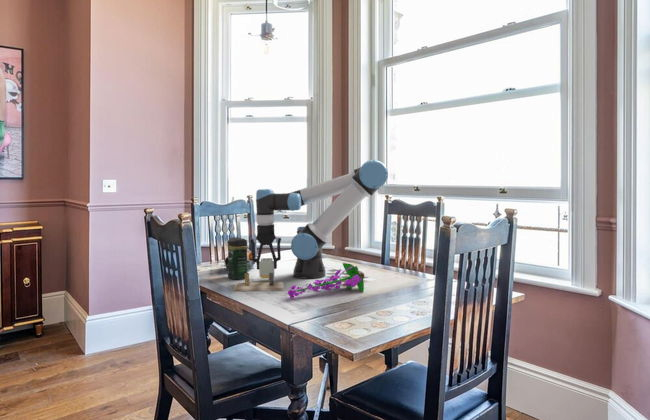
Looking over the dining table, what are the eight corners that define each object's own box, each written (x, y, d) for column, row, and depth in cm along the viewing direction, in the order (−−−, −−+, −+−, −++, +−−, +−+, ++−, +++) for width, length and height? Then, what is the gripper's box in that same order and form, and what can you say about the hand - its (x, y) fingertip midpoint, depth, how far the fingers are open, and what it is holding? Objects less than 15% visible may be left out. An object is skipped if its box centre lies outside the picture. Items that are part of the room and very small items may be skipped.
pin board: (283, 284, 182) (283, 270, 182) (283, 290, 172) (283, 275, 172) (236, 285, 180) (236, 271, 180) (233, 291, 170) (233, 276, 170)
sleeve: (272, 275, 191) (272, 258, 190) (272, 278, 186) (272, 260, 185) (261, 276, 190) (261, 258, 190) (261, 278, 185) (260, 260, 185)
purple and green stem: (369, 298, 175) (297, 320, 156) (347, 273, 186) (277, 290, 167) (378, 276, 169) (304, 296, 149) (355, 251, 180) (283, 266, 160)
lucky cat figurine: (253, 266, 220) (261, 244, 214) (251, 280, 209) (260, 257, 204) (225, 259, 216) (232, 236, 211) (221, 272, 206) (229, 249, 200)
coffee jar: (250, 278, 192) (250, 238, 191) (234, 280, 188) (233, 239, 187) (241, 274, 200) (241, 235, 199) (225, 276, 196) (225, 236, 195)
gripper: (286, 222, 191) (287, 273, 193) (245, 224, 190) (247, 275, 191) (286, 224, 184) (287, 277, 185) (243, 225, 182) (245, 279, 184)
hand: (267, 276), depth 188 cm, fingers closed on sleeve, 5 cm apart
